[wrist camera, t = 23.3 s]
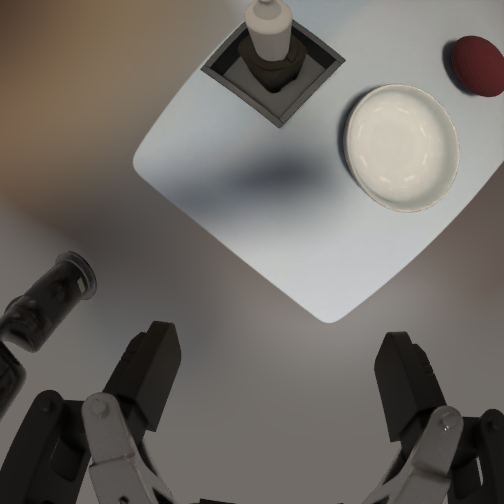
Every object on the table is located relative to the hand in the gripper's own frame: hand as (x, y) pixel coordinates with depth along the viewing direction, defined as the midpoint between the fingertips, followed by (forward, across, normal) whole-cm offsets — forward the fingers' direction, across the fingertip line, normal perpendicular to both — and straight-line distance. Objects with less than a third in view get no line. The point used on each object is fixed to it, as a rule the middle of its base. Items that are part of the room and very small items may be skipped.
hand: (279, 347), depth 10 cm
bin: (+32, +1, -15) cm, 35 cm away
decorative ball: (+32, -30, -22) cm, 49 cm away
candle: (+31, +1, -15) cm, 35 cm away
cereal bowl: (+32, -16, -6) cm, 36 cm away
